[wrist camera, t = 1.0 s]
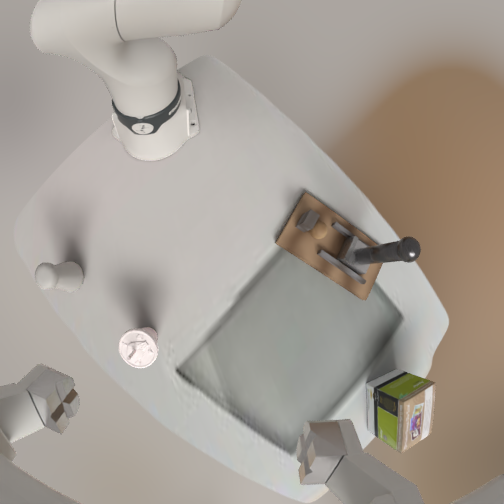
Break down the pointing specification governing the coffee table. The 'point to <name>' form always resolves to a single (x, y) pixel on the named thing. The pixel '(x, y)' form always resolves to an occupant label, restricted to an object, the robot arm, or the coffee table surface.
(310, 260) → the base
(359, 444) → the robot arm
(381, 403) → the tea box
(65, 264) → the salt shaker
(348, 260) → the handle slide
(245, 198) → the coffee table surface
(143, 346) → the smoothie
